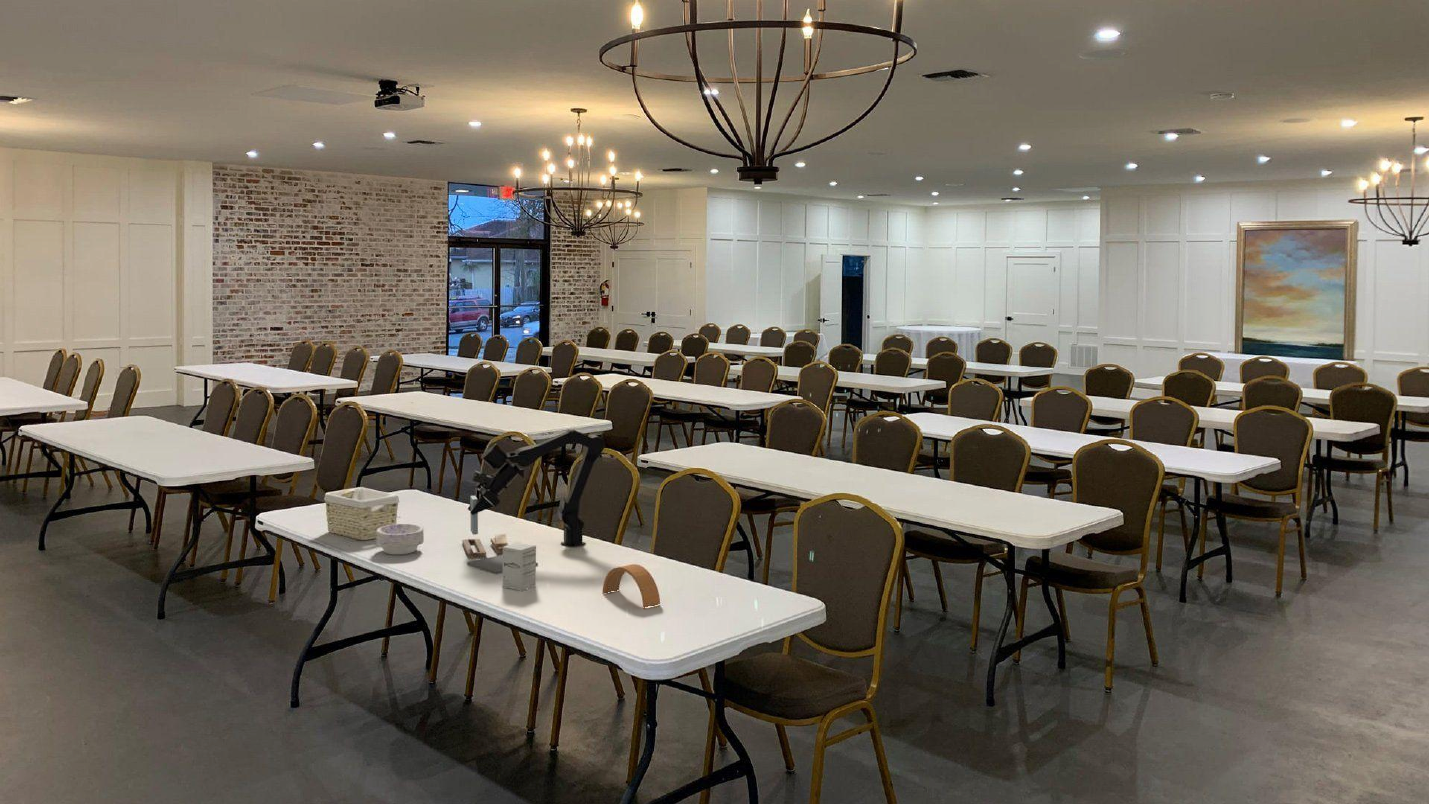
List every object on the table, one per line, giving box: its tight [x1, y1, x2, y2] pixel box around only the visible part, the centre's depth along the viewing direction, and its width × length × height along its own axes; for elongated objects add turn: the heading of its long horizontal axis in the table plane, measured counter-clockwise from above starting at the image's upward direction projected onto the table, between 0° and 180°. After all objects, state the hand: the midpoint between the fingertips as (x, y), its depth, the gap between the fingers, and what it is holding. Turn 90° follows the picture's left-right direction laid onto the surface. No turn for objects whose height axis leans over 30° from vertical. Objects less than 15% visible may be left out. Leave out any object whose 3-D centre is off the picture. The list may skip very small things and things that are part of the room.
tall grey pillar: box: [469, 495, 479, 536], centre depth 364 cm, size 2×6×12 cm, turn 20°
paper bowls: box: [375, 523, 425, 556], centre depth 363 cm, size 15×15×8 cm
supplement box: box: [501, 542, 537, 592], centre depth 324 cm, size 7×7×13 cm
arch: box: [602, 563, 661, 608], centre depth 313 cm, size 6×20×10 cm, turn 42°
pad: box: [466, 554, 539, 575], centre depth 349 cm, size 16×16×1 cm
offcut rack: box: [461, 534, 509, 559], centre depth 368 cm, size 14×20×3 cm
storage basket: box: [323, 486, 400, 541], centre depth 387 cm, size 24×16×15 cm
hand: (469, 512), depth 364 cm, fingers closed on tall grey pillar, 6 cm apart
